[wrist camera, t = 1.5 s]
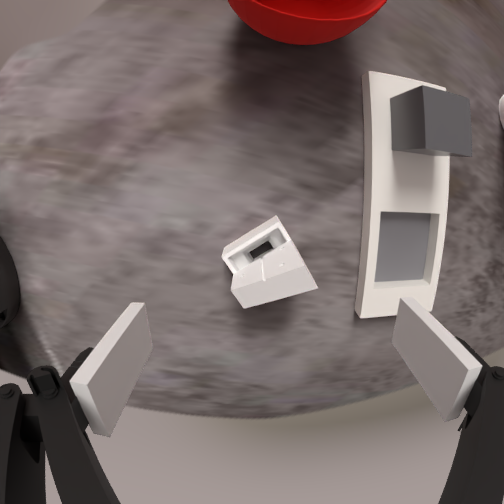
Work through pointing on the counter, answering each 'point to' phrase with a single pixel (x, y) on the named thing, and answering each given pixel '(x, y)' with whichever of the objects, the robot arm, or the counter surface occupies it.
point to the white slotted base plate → (406, 188)
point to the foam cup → (501, 110)
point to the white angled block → (266, 266)
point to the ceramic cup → (305, 18)
